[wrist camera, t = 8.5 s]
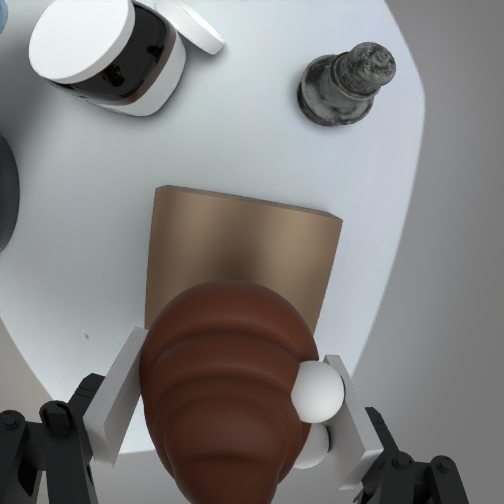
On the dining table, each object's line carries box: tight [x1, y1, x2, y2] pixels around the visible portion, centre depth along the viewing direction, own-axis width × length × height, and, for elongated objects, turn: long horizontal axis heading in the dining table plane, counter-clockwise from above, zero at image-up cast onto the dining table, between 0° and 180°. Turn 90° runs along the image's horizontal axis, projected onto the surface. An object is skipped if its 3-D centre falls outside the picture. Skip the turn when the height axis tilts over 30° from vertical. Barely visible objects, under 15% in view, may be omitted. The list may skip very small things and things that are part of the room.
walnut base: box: [145, 185, 343, 336], centre depth 26 cm, size 14×14×4 cm
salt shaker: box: [297, 42, 396, 127], centre depth 18 cm, size 6×6×12 cm
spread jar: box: [29, 0, 226, 116], centre depth 17 cm, size 12×11×12 cm
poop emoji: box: [139, 280, 346, 504], centre depth 11 cm, size 10×9×9 cm
